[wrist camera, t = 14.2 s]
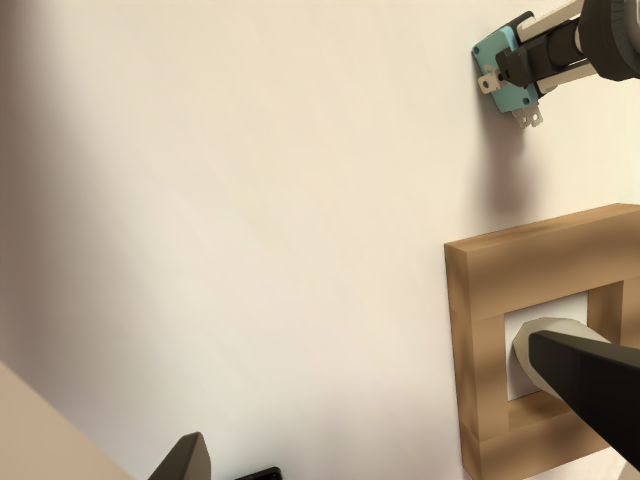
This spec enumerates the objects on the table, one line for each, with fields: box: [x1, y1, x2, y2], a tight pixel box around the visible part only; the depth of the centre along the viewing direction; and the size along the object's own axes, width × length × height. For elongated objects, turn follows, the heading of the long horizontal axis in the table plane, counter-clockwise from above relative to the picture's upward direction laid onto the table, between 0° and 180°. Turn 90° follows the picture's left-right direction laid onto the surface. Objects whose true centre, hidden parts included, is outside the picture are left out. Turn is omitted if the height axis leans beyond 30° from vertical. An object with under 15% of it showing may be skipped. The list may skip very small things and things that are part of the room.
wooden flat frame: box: [444, 203, 640, 480], centre depth 25 cm, size 20×15×2 cm
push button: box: [473, 0, 640, 129], centre depth 16 cm, size 7×5×10 cm
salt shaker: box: [513, 317, 611, 400], centre depth 20 cm, size 6×6×13 cm
